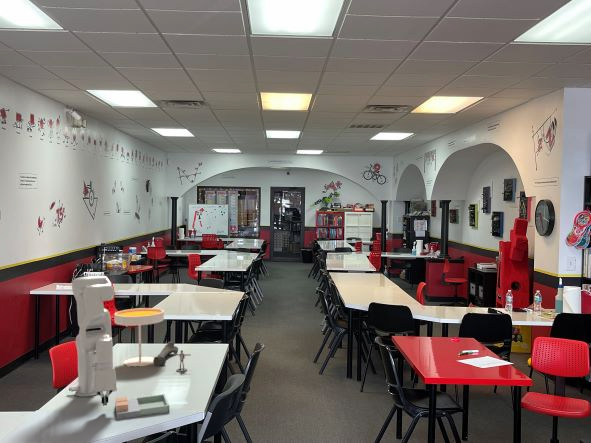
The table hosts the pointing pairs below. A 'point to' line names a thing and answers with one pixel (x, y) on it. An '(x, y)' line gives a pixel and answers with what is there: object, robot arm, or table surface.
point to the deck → (129, 410)
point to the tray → (153, 404)
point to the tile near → (122, 406)
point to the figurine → (182, 361)
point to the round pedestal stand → (139, 318)
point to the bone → (165, 353)
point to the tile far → (121, 399)
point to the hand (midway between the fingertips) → (105, 404)
